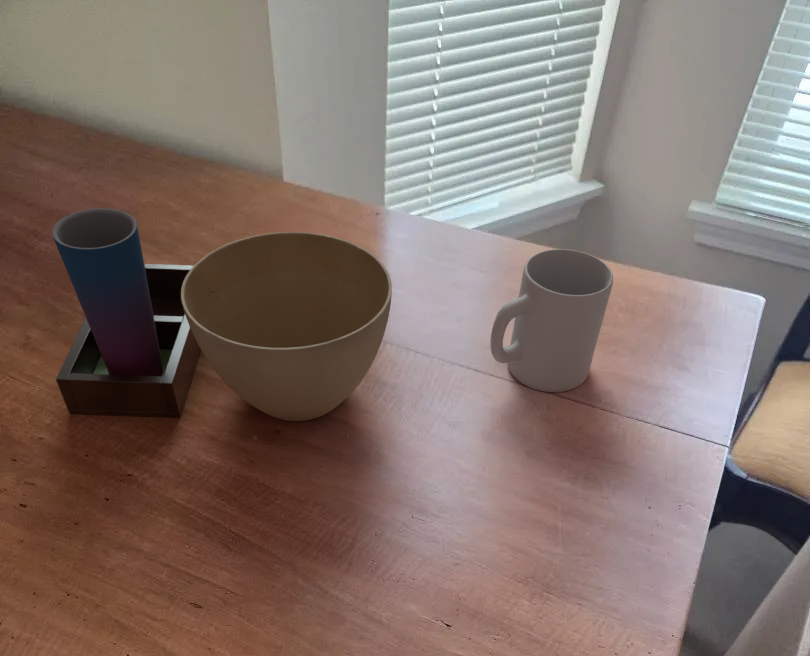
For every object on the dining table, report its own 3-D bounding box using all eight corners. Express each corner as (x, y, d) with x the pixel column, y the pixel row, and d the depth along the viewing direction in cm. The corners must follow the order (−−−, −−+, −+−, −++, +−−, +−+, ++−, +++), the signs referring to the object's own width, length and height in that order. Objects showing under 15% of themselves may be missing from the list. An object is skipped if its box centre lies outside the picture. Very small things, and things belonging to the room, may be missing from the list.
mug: (555, 334, 82) (577, 240, 74) (605, 378, 78) (633, 283, 69) (463, 365, 78) (474, 268, 70) (509, 413, 74) (527, 316, 65)
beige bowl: (219, 337, 80) (199, 228, 70) (389, 342, 80) (392, 234, 71) (190, 456, 68) (161, 344, 59) (388, 460, 69) (391, 350, 59)
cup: (168, 347, 77) (133, 203, 65) (176, 388, 73) (140, 243, 61) (99, 358, 75) (50, 213, 64) (103, 400, 71) (52, 253, 60)
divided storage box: (69, 413, 71) (55, 379, 68) (122, 295, 84) (112, 262, 81) (180, 417, 71) (171, 383, 68) (216, 299, 84) (210, 265, 81)
